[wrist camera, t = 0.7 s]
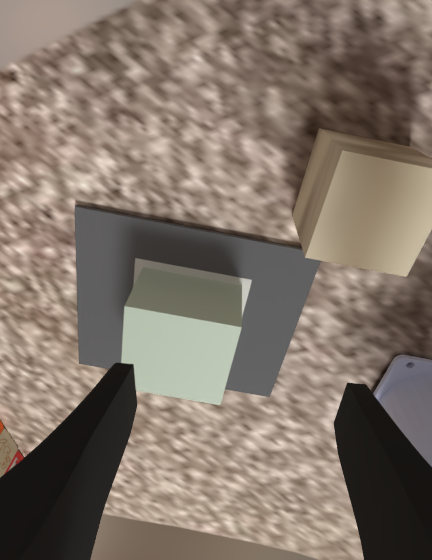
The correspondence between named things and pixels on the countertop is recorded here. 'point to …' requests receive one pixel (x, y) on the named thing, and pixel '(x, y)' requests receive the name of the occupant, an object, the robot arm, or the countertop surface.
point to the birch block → (364, 203)
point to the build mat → (193, 262)
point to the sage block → (181, 334)
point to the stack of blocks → (7, 451)
